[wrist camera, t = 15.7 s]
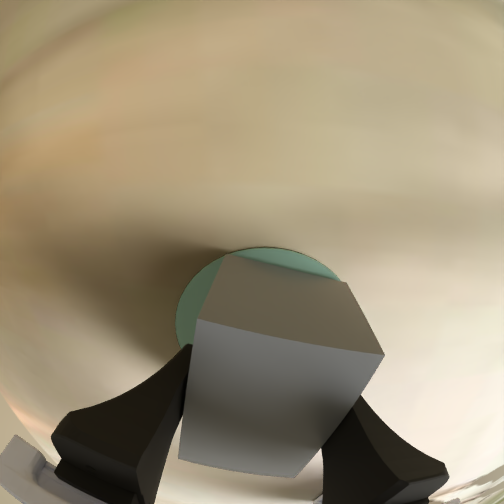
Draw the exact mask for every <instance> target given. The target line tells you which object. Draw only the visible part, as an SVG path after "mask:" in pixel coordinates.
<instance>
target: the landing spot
mask: <svg viewBox="0 0 504 504" xmlns="http://www.w3.org/2000/svg"><path fill="white" fill-rule="evenodd" d="M230 255H234V256H238V257H242V258H246V259H250V260H254V261H258V262H263V263H267V264H271V265H275V266H279V267H283V268H287V269H291V270H296V271H300V272H304V273H308V274H312V275H316V276H321V277H325V278H329V279H333V280H337V281H340V279H339V278H338V277H337V276H336V275H335V274H334V273H333V272H332V271H331V270H330V269H328V268H327V267H326V266H324V265H323V264H321V263H320V262H318V261H317V260H315V259H313V258H311V257H308V256H306V255H304V254H301V253H298V252H295V251H291V250H286V249H280V248H267V247H263V248H250V249H245V250H240V251H236V252H233V253H230ZM224 257H225V256H223V257H221V258H219V259H217V260H215V261H213V262H211V263H210V264H209V265H207V266H206V267H204V268H203V269H202V270H201V271H200V272H199V273H197V274H196V275H195V276H194V278H193V279H192V280H191V281H190V283H189V284H188V285H187V287H186V288H185V290H184V292H183V294H182V295H181V298H180V301H179V303H178V306H177V311H176V320H175V327H176V335H177V339H178V343H179V345H180V348H181V349H182V348H183V347H184V345H185V344H188V343H189V344H192V345H193V341H194V335H195V329H196V323H197V318H198V316H199V313H200V311H201V309H202V306H203V304H204V302H205V299H206V297H207V295H208V293H209V290H210V288H211V286H212V284H213V281H214V279H215V277H216V275H217V272H218V270H219V268H220V266H221V263H222V261H223V259H224Z"/></svg>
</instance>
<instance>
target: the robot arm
mask: <svg viewBox="0 0 504 504" xmlns="http://www.w3.org/2000/svg"><path fill="white" fill-rule="evenodd" d="M192 348H193V345H192V344H189V343H188V344H185V345H184V347H183V348H182V349H181V350H180V351H179V352H178V353H177V354H176V355H175V356H174V357H173V358H172V359H171V360H170V361H169V362H168V363H167V364H166V365H165V366H164V367H162V368H161V369H160V370H159V371H158V372H156V373H155V374H154V375H152V376H151V377H150V378H148V379H147V380H145V381H144V382H142V383H141V384H139V385H138V386H136V387H134V388H133V389H131V390H129V391H127V392H125V393H123V394H122V395H120V396H117V397H115V398H113V399H111V400H108V401H105V402H103V403H100V404H97V405H94V406H91V407H88V408H84V409H80V410H76V411H71V412H69V413H68V414H67V415H66V416H65V417H64V418H63V420H62V421H61V422H60V423H59V425H58V426H57V428H56V429H55V431H54V432H53V434H52V435H51V440H52V442H53V445H54V446H55V448H56V450H57V452H58V453H59V455H60V457H61V458H62V459H61V460H60V462H59V464H58V465H57V467H56V466H54V465H52V464H51V463H49V462H47V461H46V458H45V457H44V456H43V454H42V453H41V452H40V451H39V450H37V449H36V448H35V447H33V446H32V445H30V444H29V443H27V442H26V441H25V440H23V439H22V438H21V437H19V436H18V435H14V437H13V438H12V440H11V441H10V442H9V443H8V445H7V446H6V448H5V449H4V451H3V452H2V453H1V455H0V485H1V486H2V487H3V488H4V489H5V490H7V491H8V492H9V493H10V494H11V495H12V496H14V497H15V498H16V499H17V500H19V501H20V502H21V503H23V504H154V502H155V498H156V494H157V490H158V487H159V483H160V479H161V476H162V472H163V469H164V465H165V462H166V458H167V455H168V452H169V448H170V445H171V442H172V439H173V436H174V434H175V431H176V429H177V427H178V425H179V422H180V420H181V418H182V415H183V411H184V404H185V396H186V389H187V381H188V374H189V368H190V361H191V354H192ZM321 449H322V456H323V494H322V495H321V496H320V497H318V498H317V499H316V500H315V501H313V504H428V503H429V499H428V497H429V496H430V495H431V494H433V493H434V492H435V491H437V490H438V489H439V488H441V487H442V486H443V485H444V484H445V483H446V482H447V481H448V479H449V474H448V472H447V469H446V467H445V464H444V463H443V462H441V461H439V460H436V459H434V458H432V457H430V456H428V455H426V454H424V453H423V452H421V451H419V450H418V449H416V448H414V447H413V446H411V445H410V444H409V443H407V442H406V441H405V440H403V439H402V438H401V437H399V436H398V435H397V434H396V433H395V432H394V431H393V430H391V429H390V428H389V427H388V426H387V425H386V424H385V423H384V422H383V421H382V420H381V419H380V418H379V416H378V415H377V414H376V413H375V412H374V411H373V410H372V408H371V407H370V406H369V405H368V404H367V402H366V401H365V400H364V399H363V397H362V396H361V395H360V396H359V397H358V399H357V400H356V402H355V403H354V405H353V406H352V408H351V409H350V410H349V412H348V413H347V415H346V416H345V417H344V419H343V420H342V421H341V423H340V424H339V425H338V427H337V428H336V429H335V431H334V432H333V433H332V435H331V436H330V437H329V438H328V440H327V441H326V442H325V443H324V445H323V446H322V447H321ZM443 504H461V502H460V499H459V498H456V499H453V500H450V501H448V502H445V503H443Z"/></svg>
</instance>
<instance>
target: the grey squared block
mask: <svg viewBox="0 0 504 504" xmlns="http://www.w3.org/2000/svg"><path fill="white" fill-rule="evenodd" d="M384 356H385V354H384V352H383V350H382V348H381V346H380V344H379V342H378V340H377V338H376V337H375V335H374V333H373V331H372V329H371V327H370V325H369V323H368V321H367V319H366V317H365V316H364V314H363V312H362V310H361V308H360V306H359V304H358V303H357V301H356V299H355V297H354V295H353V293H352V292H351V290H350V288H349V286H348V285H347V283H346V282H342V281H337V280H333V279H329V278H325V277H321V276H316V275H312V274H308V273H304V272H300V271H296V270H291V269H287V268H283V267H279V266H275V265H271V264H267V263H263V262H258V261H254V260H250V259H246V258H242V257H238V256H234V255H230V254H225V257H224V259H223V261H222V263H221V266H220V268H219V270H218V272H217V275H216V277H215V279H214V281H213V284H212V286H211V288H210V290H209V293H208V295H207V297H206V299H205V302H204V304H203V306H202V309H201V311H200V313H199V316H198V318H197V323H196V329H195V335H194V341H193V348H192V354H191V361H190V368H189V374H188V381H187V389H186V396H185V404H184V411H183V419H182V428H181V436H180V445H179V454H178V459H181V460H185V461H189V462H193V463H197V464H201V465H205V466H210V467H215V468H220V469H225V470H231V471H236V472H243V473H250V474H257V475H266V476H276V477H289V478H295V477H296V476H297V475H298V473H299V472H300V471H301V470H302V469H303V468H304V467H305V466H306V465H307V463H308V462H309V461H310V460H311V459H312V458H313V457H314V455H315V454H316V453H317V452H318V451H319V449H320V448H321V447H322V446H323V445H324V443H325V442H326V441H327V440H328V438H329V437H330V436H331V435H332V433H333V432H334V431H335V429H336V428H337V427H338V425H339V424H340V423H341V421H342V420H343V419H344V417H345V416H346V415H347V413H348V412H349V410H350V409H351V408H352V406H353V405H354V403H355V402H356V400H357V399H358V397H359V396H360V395H361V393H362V391H363V390H364V388H365V387H366V385H367V384H368V382H369V381H370V379H371V377H372V376H373V374H374V373H375V371H376V369H377V368H378V366H379V364H380V363H381V361H382V359H383V358H384Z"/></svg>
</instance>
